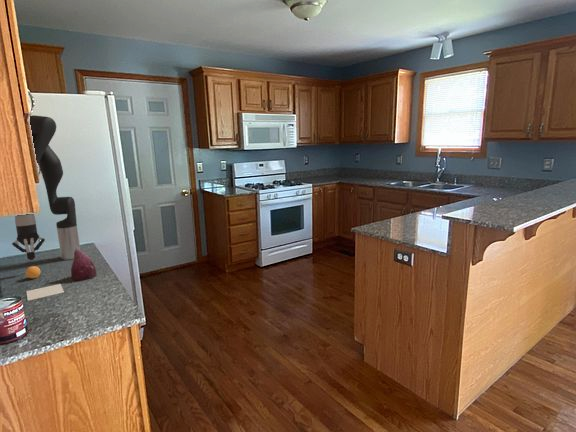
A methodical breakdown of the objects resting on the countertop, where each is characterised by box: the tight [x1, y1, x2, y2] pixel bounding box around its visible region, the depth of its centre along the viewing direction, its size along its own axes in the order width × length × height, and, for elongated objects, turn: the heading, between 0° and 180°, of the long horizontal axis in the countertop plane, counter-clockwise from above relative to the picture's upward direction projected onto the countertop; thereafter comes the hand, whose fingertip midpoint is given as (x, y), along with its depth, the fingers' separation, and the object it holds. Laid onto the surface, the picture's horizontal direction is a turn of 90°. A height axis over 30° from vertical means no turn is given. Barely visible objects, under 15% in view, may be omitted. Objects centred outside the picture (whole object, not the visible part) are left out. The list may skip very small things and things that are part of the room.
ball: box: [25, 265, 41, 279], centre depth 159 cm, size 6×6×6 cm
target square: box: [26, 283, 65, 302], centre depth 142 cm, size 12×12×1 cm
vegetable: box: [70, 248, 97, 282], centre depth 158 cm, size 10×10×15 cm
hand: (31, 259), depth 165 cm, fingers closed
